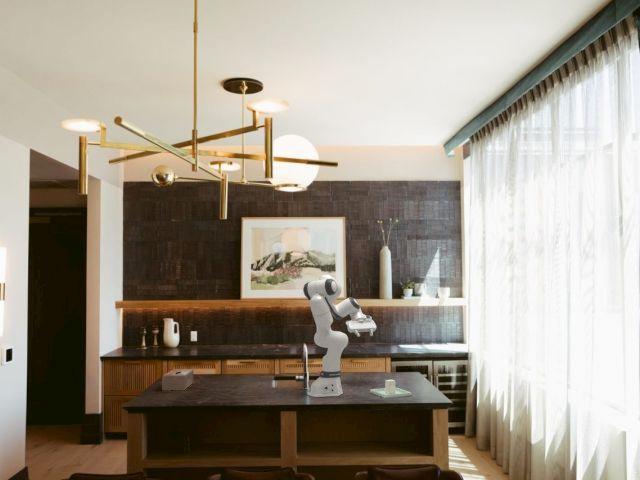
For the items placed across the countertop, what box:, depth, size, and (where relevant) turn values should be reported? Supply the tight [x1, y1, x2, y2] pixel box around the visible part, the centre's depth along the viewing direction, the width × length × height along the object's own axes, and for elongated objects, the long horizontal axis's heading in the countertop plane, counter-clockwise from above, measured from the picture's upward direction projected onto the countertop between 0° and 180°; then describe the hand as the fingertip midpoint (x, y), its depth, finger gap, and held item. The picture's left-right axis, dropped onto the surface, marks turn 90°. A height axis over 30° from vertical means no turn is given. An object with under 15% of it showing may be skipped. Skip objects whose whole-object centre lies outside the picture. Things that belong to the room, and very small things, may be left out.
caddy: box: [384, 379, 397, 394], centre depth 367 cm, size 5×5×8 cm
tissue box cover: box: [161, 369, 194, 391], centre depth 398 cm, size 26×14×10 cm, turn 179°
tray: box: [369, 387, 413, 399], centre depth 367 cm, size 18×20×2 cm
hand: (365, 335), depth 395 cm, fingers open, 8 cm apart
